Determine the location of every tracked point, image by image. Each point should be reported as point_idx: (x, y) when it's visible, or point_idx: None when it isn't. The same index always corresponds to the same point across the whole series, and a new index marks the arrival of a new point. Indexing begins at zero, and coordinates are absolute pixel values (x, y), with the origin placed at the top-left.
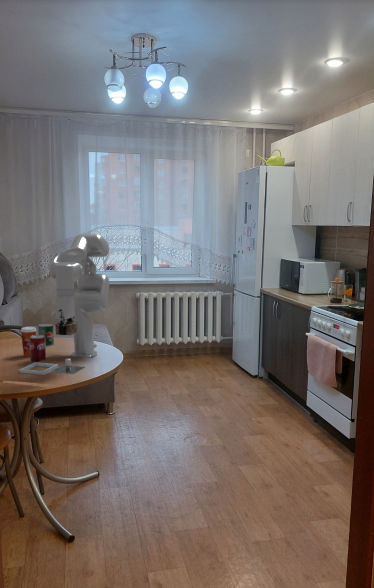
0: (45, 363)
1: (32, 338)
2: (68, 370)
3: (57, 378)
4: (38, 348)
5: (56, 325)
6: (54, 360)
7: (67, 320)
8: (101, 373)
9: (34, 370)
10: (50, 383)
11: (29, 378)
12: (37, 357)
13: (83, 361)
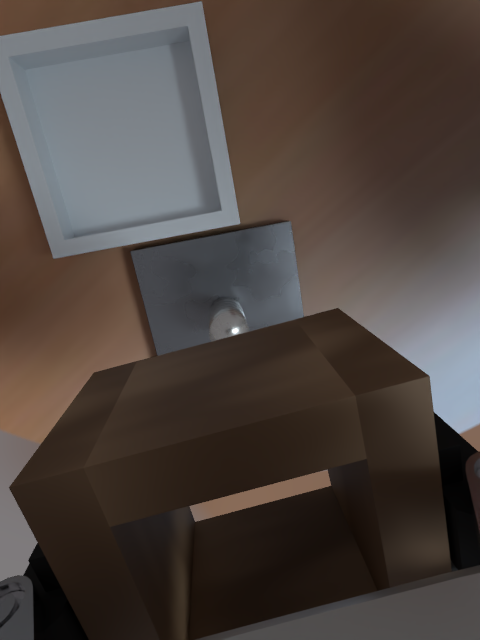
0: (214, 114)
1: None
2: (208, 329)
3: (101, 335)
4: None
5: (34, 490)
6: (415, 19)
7: (474, 509)
8: None
9: (39, 175)
10: (14, 363)
11: (3, 184)
12: None
13: (452, 238)
